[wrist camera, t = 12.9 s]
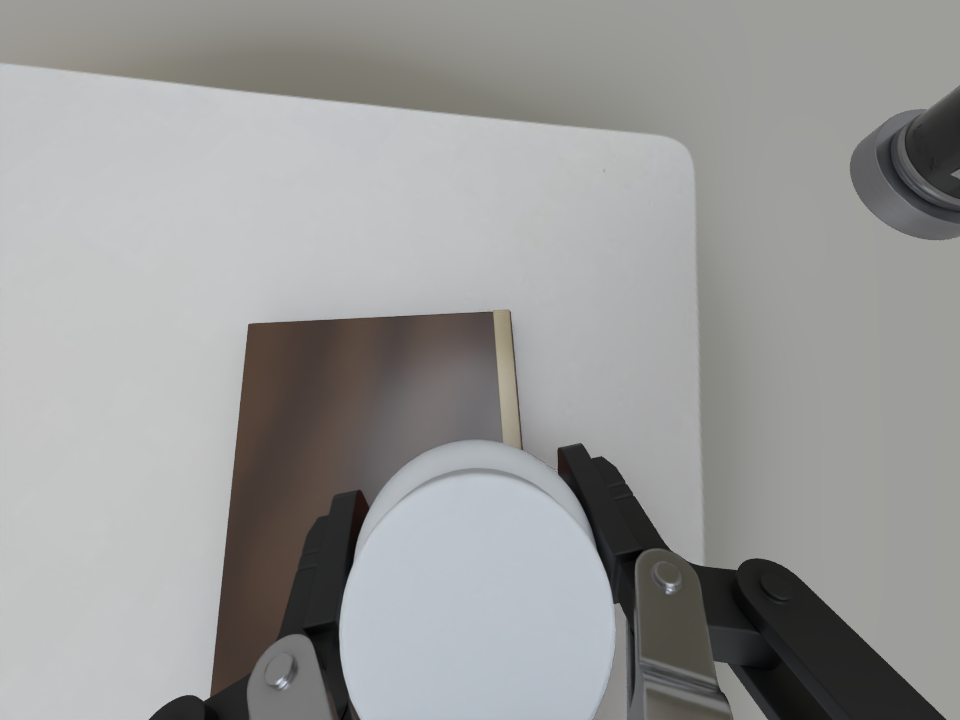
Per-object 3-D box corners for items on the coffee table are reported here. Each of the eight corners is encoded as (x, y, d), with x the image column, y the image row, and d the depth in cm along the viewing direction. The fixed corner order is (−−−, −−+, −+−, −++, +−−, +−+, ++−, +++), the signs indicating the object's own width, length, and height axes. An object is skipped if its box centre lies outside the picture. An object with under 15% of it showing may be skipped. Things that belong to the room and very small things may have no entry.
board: (508, 318, 24) (510, 309, 22) (542, 722, 18) (549, 747, 17) (261, 331, 23) (246, 322, 22) (222, 752, 18) (199, 780, 16)
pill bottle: (381, 494, 17) (222, 563, 6) (490, 419, 18) (518, 366, 7) (454, 620, 16) (414, 986, 5) (567, 533, 17) (741, 676, 6)
